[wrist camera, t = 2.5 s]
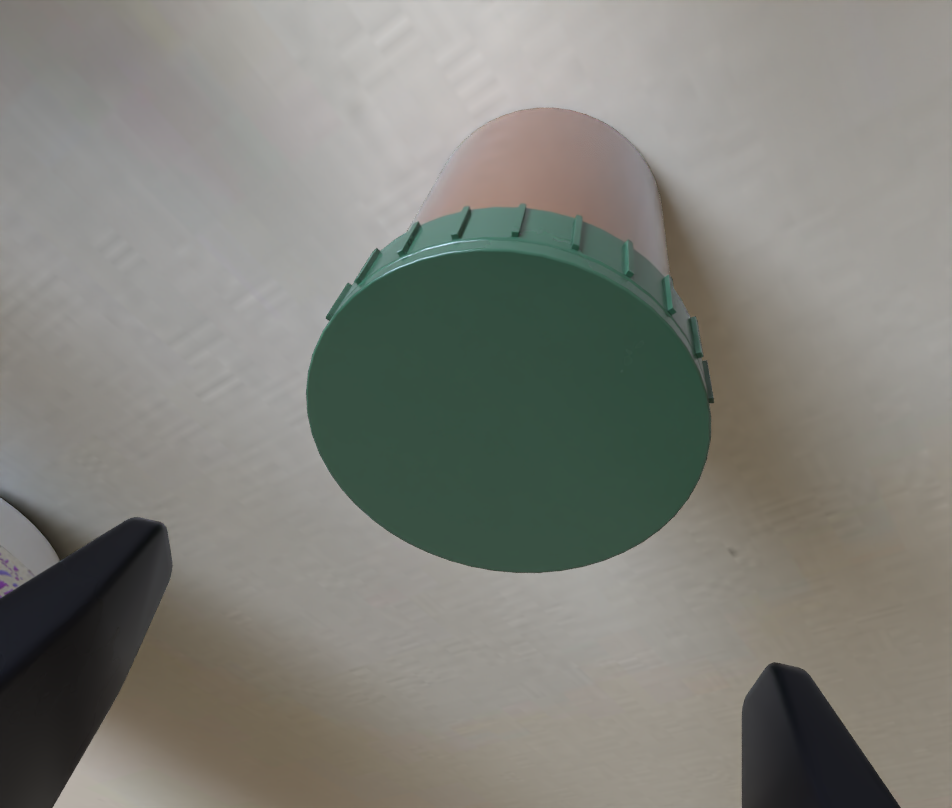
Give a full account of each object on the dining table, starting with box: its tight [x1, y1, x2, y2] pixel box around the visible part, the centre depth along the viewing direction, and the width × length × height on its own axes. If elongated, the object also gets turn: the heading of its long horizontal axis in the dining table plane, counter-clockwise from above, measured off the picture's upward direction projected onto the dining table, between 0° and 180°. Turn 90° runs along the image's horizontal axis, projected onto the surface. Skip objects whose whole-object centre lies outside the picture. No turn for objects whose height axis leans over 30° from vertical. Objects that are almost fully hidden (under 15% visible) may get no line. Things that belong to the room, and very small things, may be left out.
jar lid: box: [306, 203, 714, 573], centre depth 13 cm, size 7×7×2 cm
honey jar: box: [406, 108, 670, 277], centre depth 16 cm, size 6×6×8 cm
